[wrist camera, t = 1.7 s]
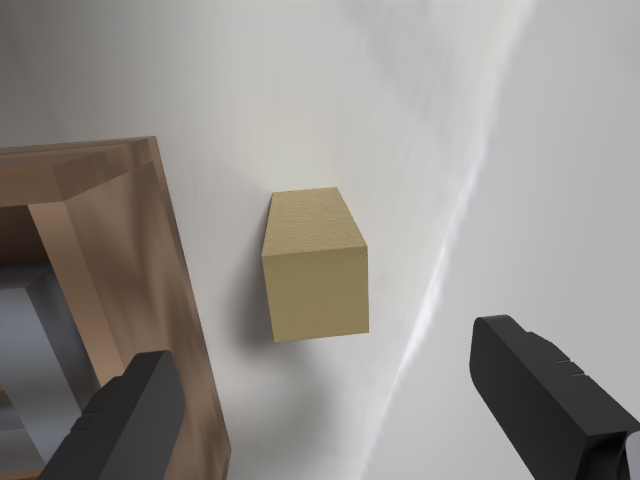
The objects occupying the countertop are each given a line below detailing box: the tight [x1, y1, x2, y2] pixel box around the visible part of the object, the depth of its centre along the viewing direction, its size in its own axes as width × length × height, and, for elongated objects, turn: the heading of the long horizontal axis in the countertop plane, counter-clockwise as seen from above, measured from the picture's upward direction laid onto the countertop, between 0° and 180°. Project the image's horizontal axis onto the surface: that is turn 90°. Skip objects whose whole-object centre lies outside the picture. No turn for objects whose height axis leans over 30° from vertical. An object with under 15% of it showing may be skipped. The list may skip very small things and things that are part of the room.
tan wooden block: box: [262, 187, 369, 343], centre depth 15 cm, size 3×3×8 cm
